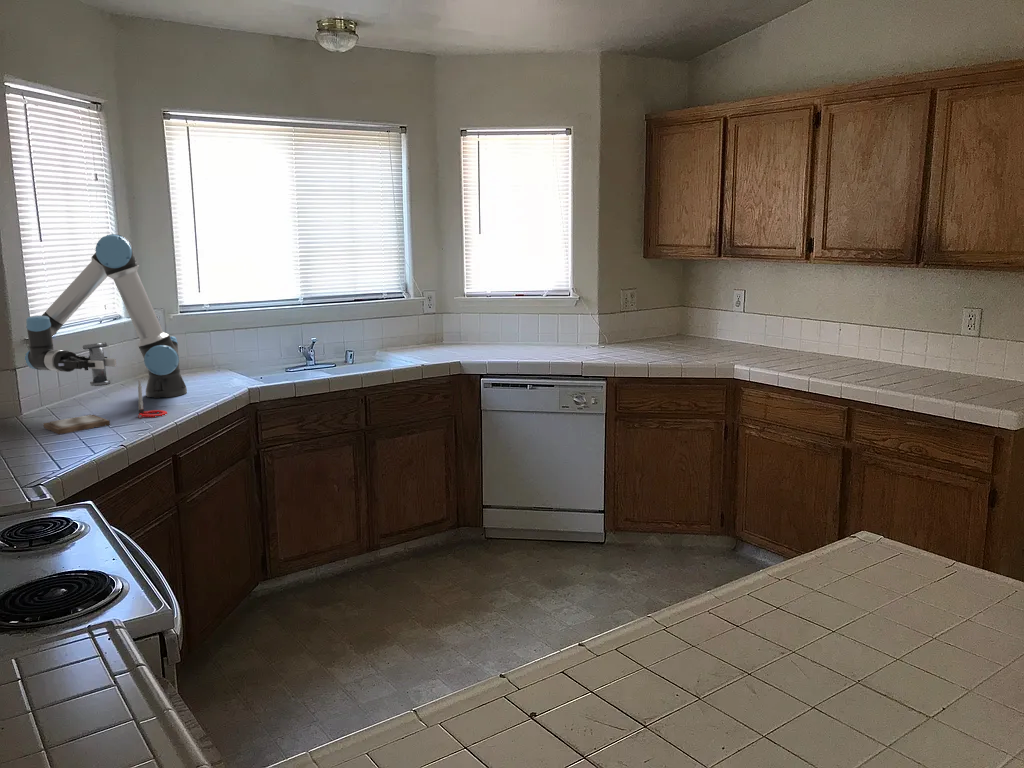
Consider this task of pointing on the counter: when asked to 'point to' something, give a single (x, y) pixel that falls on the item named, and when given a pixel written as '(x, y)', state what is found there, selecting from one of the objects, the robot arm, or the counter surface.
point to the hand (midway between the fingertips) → (109, 363)
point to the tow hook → (140, 404)
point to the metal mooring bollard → (98, 355)
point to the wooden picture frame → (76, 424)
